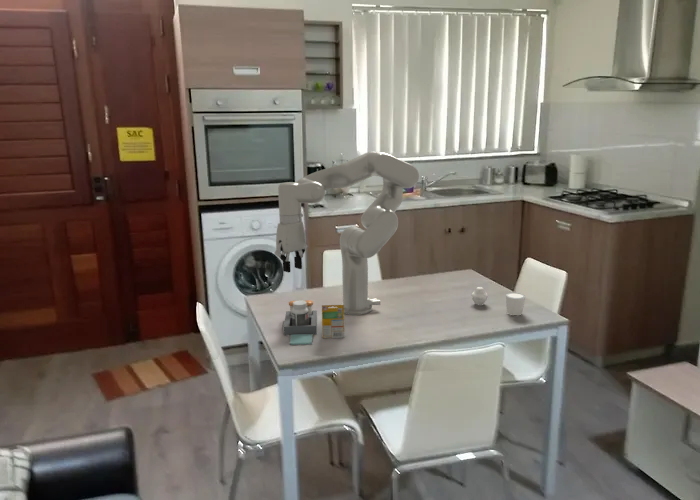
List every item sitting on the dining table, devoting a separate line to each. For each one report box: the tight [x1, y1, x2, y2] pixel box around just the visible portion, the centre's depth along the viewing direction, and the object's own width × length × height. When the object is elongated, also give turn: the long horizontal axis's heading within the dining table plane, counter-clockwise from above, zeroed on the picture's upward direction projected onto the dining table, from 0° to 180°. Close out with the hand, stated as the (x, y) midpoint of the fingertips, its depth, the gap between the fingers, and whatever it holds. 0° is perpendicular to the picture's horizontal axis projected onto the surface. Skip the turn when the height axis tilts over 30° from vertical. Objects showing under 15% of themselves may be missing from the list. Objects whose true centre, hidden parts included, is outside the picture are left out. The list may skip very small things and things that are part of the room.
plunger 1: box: [288, 300, 295, 315], centre depth 200 cm, size 4×4×7 cm
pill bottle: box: [292, 299, 309, 326], centre depth 192 cm, size 6×6×10 cm
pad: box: [289, 334, 313, 346], centre depth 184 cm, size 7×7×1 cm
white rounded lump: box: [471, 286, 489, 306], centre depth 215 cm, size 6×6×7 cm
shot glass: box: [505, 292, 526, 315], centre depth 205 cm, size 7×7×7 cm
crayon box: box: [321, 304, 345, 339], centre depth 185 cm, size 7×3×12 cm, turn 92°
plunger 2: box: [305, 299, 314, 315], centre depth 200 cm, size 4×4×7 cm
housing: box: [283, 310, 318, 336], centre depth 195 cm, size 11×15×3 cm
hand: (292, 269), depth 196 cm, fingers open, 4 cm apart
